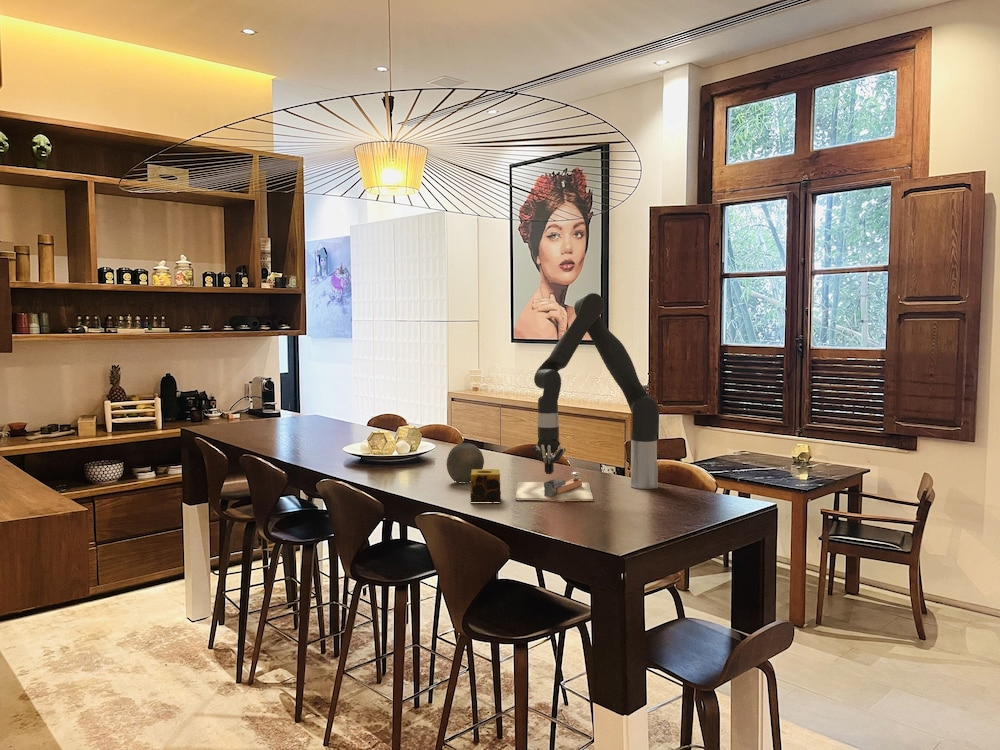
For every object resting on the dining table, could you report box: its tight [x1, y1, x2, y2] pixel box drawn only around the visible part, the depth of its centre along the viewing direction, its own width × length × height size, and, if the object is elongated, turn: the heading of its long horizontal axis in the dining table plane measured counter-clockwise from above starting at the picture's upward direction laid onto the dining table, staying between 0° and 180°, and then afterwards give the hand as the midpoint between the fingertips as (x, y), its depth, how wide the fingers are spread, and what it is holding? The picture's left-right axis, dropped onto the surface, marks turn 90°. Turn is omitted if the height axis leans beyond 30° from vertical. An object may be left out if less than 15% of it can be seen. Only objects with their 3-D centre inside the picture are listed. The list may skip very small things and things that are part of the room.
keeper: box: [543, 478, 567, 497], centre depth 262 cm, size 8×4×4 cm, turn 147°
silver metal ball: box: [570, 471, 582, 480], centre depth 275 cm, size 3×3×3 cm
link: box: [556, 478, 583, 494], centre depth 270 cm, size 18×4×2 cm, turn 146°
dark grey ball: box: [446, 442, 485, 483], centre depth 287 cm, size 14×14×15 cm
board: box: [515, 481, 594, 502], centre depth 270 cm, size 26×28×1 cm
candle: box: [469, 468, 502, 502], centre depth 257 cm, size 10×10×10 cm
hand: (549, 473), depth 272 cm, fingers closed
